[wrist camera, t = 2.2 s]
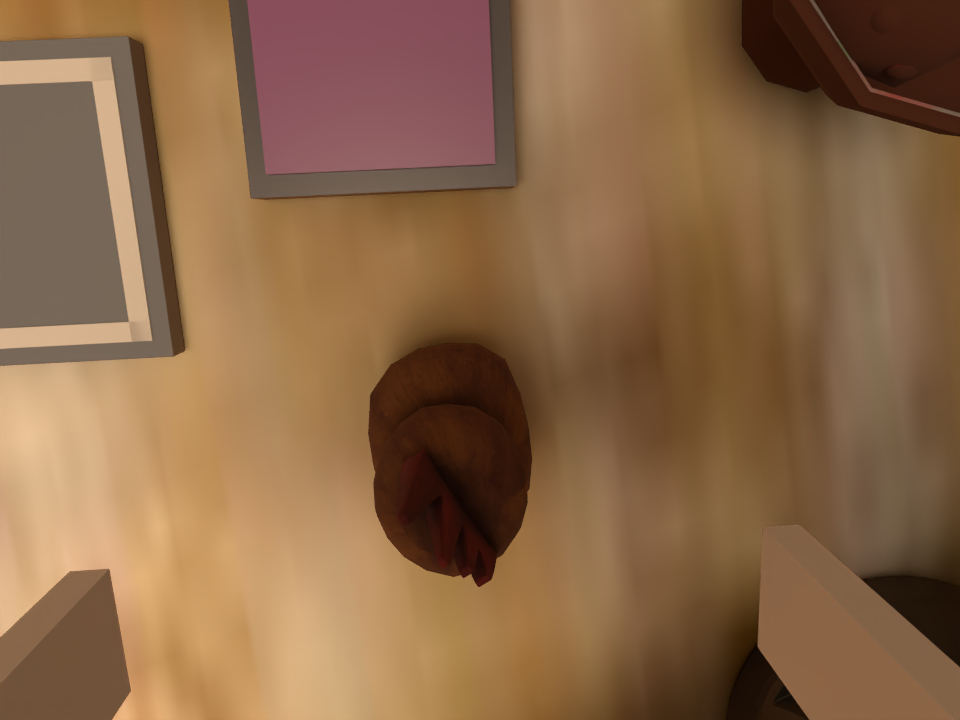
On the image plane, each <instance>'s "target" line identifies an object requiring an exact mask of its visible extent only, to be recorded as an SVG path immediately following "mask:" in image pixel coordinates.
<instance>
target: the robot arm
mask: <svg viewBox="0 0 960 720" xmlns="http://www.w3.org/2000/svg"><path fill="white" fill-rule="evenodd" d="M130 691H131V689H130V683H129V677H128V672H127V666H126V661H125V655H124V649H123V644H122V638H121V632H120V627H119V621H118V615H117V610H116V604H115V598H114V593H113V587H112V582H111V576H110V570H109V569H101V570H85V571H70V572H69V573H68V574H67V575H66V576H65V577H64V578H62V579H61V580H60V581H59V582H58V583H57V584H56V585H55V586H54V587H53V588H52V589H51V590H50V591H49V592H48V593H47V594H46V595H45V596H44V597H42V598H41V599H40V600H39V601H38V602H37V603H36V604H35V605H34V606H33V607H32V608H31V609H30V610H29V611H28V612H27V613H26V614H25V615H24V616H23V617H21V618H20V619H19V620H18V621H17V622H16V623H15V624H14V625H13V626H12V627H11V628H10V629H9V630H8V631H7V632H6V633H5V634H4V635H3V636H1V637H0V720H112V719H113V717H114V716H115V714H116V713H117V711H118V709H119V708H120V706H121V705H122V703H123V702H124V700H125V699H126V697H127V696H128V694H129V693H130ZM727 720H960V588H958V587H956V586H953V585H950V584H947V583H944V582H940V581H936V580H931V579H926V578H918V577H903V576H898V577H882V578H874V579H869V580H864V581H862V580H861V579H860V578H859V577H858V576H857V575H856V574H855V573H853V572H852V571H851V570H850V569H849V568H848V567H847V566H846V565H844V564H843V563H842V562H841V561H840V560H839V559H838V558H837V557H836V556H834V555H833V554H832V553H831V552H830V551H829V550H828V549H827V548H825V547H824V546H823V545H822V544H821V543H820V542H819V541H818V540H816V539H815V538H814V537H813V536H812V535H811V534H810V533H809V532H808V531H806V530H805V529H804V528H803V527H802V526H801V525H800V524H799V525H784V526H768V527H763V533H762V556H761V579H760V601H759V624H758V646H757V647H756V649H755V650H754V652H753V653H752V654H751V656H750V657H749V659H748V661H747V662H746V664H745V666H744V667H743V669H742V671H741V673H740V675H739V677H738V679H737V682H736V684H735V687H734V689H733V692H732V695H731V699H730V703H729V707H728V713H727Z"/></svg>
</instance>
